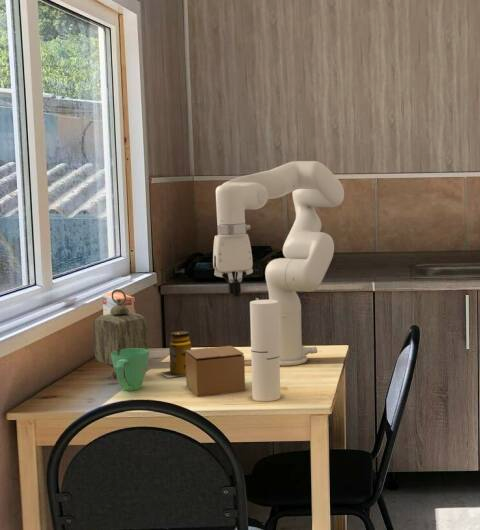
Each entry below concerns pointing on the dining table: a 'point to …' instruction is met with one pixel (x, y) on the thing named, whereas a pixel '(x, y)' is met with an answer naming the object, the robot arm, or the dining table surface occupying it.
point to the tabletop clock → (118, 332)
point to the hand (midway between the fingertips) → (234, 295)
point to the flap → (226, 351)
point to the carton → (214, 372)
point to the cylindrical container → (265, 350)
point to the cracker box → (109, 303)
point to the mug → (130, 367)
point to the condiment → (178, 354)
